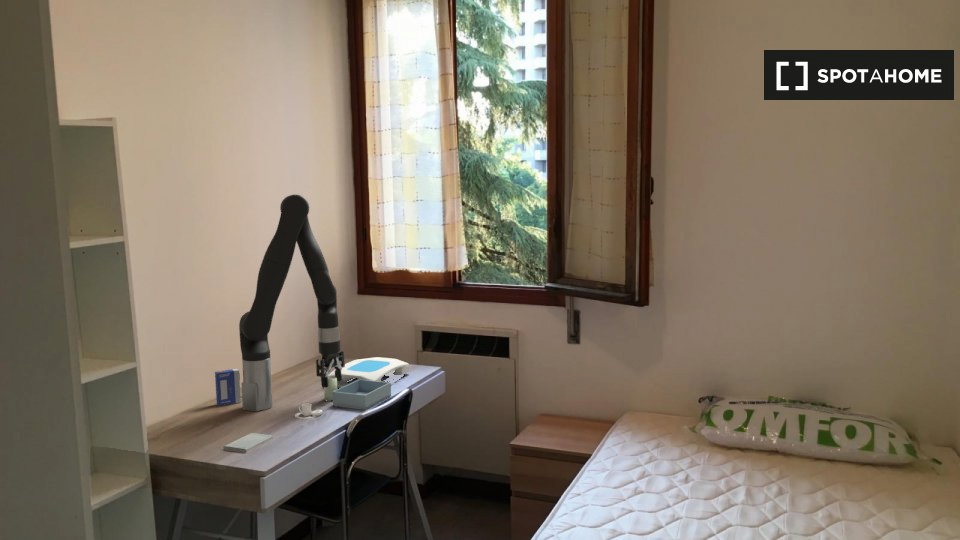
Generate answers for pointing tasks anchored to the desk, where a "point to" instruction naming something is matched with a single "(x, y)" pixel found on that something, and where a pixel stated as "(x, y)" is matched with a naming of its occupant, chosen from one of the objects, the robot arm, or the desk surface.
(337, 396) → the bin
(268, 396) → the robot arm
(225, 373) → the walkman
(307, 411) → the teacup and saucer
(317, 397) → the desk surface
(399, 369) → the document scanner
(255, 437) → the hard drive
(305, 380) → the desk surface
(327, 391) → the mint green capsule
